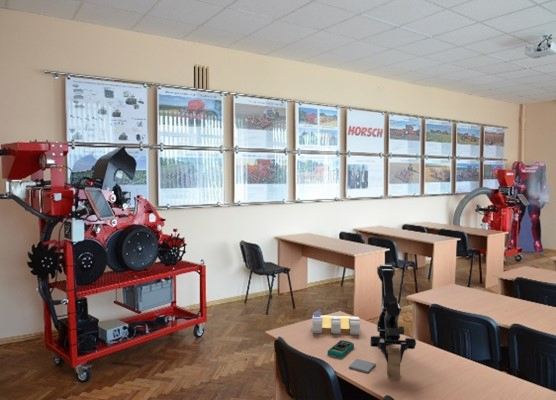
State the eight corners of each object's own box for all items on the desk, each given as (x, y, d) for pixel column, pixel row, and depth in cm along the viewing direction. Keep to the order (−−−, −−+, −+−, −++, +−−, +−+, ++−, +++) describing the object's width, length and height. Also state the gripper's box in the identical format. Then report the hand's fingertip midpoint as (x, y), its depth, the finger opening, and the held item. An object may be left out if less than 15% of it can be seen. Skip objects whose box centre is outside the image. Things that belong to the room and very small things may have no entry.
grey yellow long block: (312, 334, 226) (312, 310, 225) (313, 326, 237) (313, 304, 236) (359, 335, 223) (359, 311, 222) (358, 328, 234) (358, 305, 233)
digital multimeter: (354, 348, 209) (354, 341, 208) (341, 359, 196) (341, 353, 195) (340, 344, 213) (340, 338, 212) (327, 355, 200) (327, 349, 200)
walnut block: (386, 372, 182) (387, 347, 181) (398, 373, 181) (399, 348, 181) (388, 378, 177) (388, 352, 176) (400, 379, 176) (400, 353, 176)
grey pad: (356, 360, 194) (356, 358, 194) (375, 365, 189) (375, 363, 189) (348, 368, 186) (348, 366, 186) (368, 373, 181) (368, 371, 181)
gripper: (371, 317, 183) (372, 353, 173) (415, 319, 180) (419, 356, 170) (369, 328, 191) (371, 363, 181) (412, 330, 188) (416, 366, 178)
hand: (394, 362), depth 177 cm, fingers open, 5 cm apart
